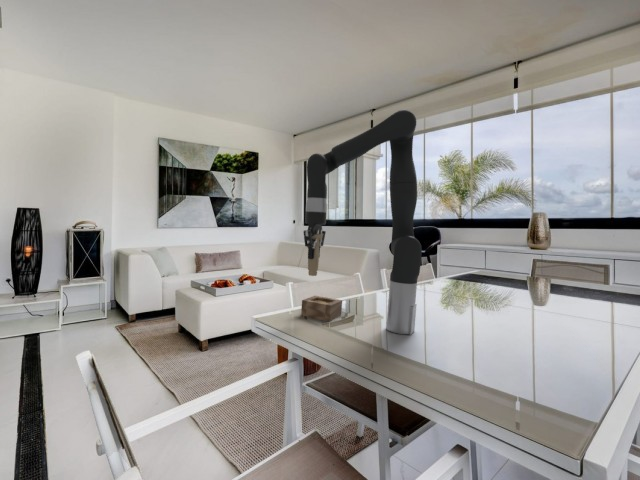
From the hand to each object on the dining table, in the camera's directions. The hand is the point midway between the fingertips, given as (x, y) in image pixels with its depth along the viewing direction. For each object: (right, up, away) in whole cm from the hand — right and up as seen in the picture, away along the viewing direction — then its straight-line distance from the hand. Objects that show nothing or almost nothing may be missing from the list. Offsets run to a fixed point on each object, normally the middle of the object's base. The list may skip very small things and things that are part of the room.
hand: (313, 258), depth 121 cm
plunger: (+3, -19, +8) cm, 21 cm away
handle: (0, -6, 0) cm, 6 cm away
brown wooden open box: (+3, -23, +8) cm, 24 cm away
